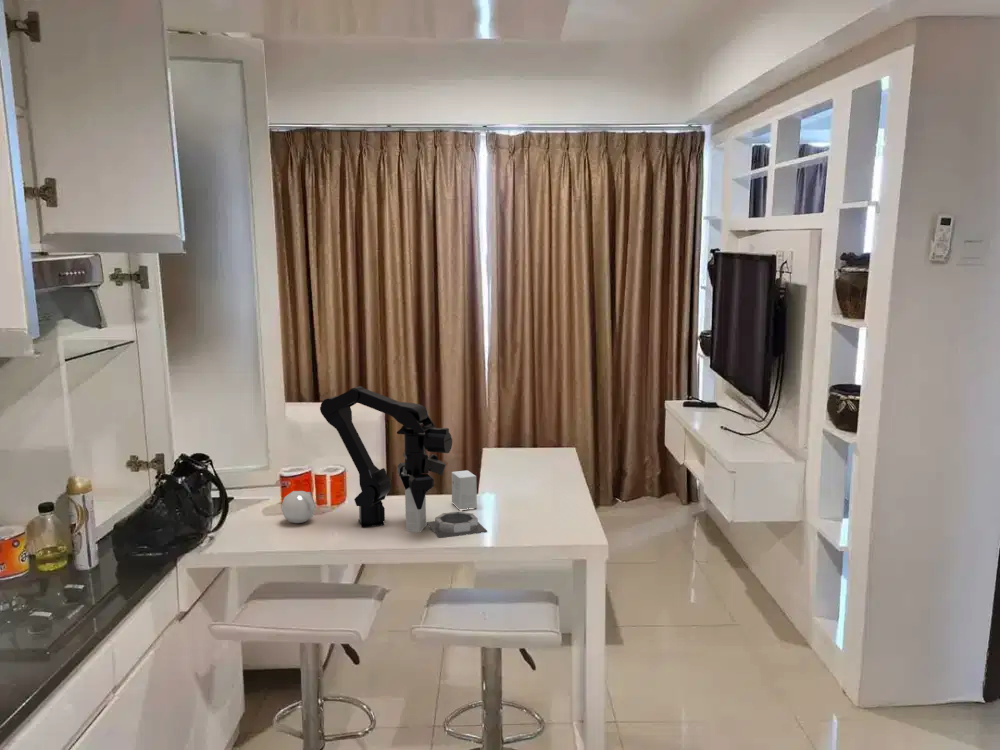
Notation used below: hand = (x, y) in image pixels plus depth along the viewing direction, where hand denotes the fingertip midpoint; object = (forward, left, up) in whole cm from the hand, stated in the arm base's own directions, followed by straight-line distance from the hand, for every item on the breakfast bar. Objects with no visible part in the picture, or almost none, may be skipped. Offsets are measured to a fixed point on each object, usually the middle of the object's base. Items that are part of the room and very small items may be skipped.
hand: (415, 504), depth 212 cm
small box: (+19, +15, -7) cm, 25 cm away
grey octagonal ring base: (+11, -3, -7) cm, 13 cm away
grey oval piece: (-30, +20, -7) cm, 37 cm away
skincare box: (0, 0, -7) cm, 7 cm away
